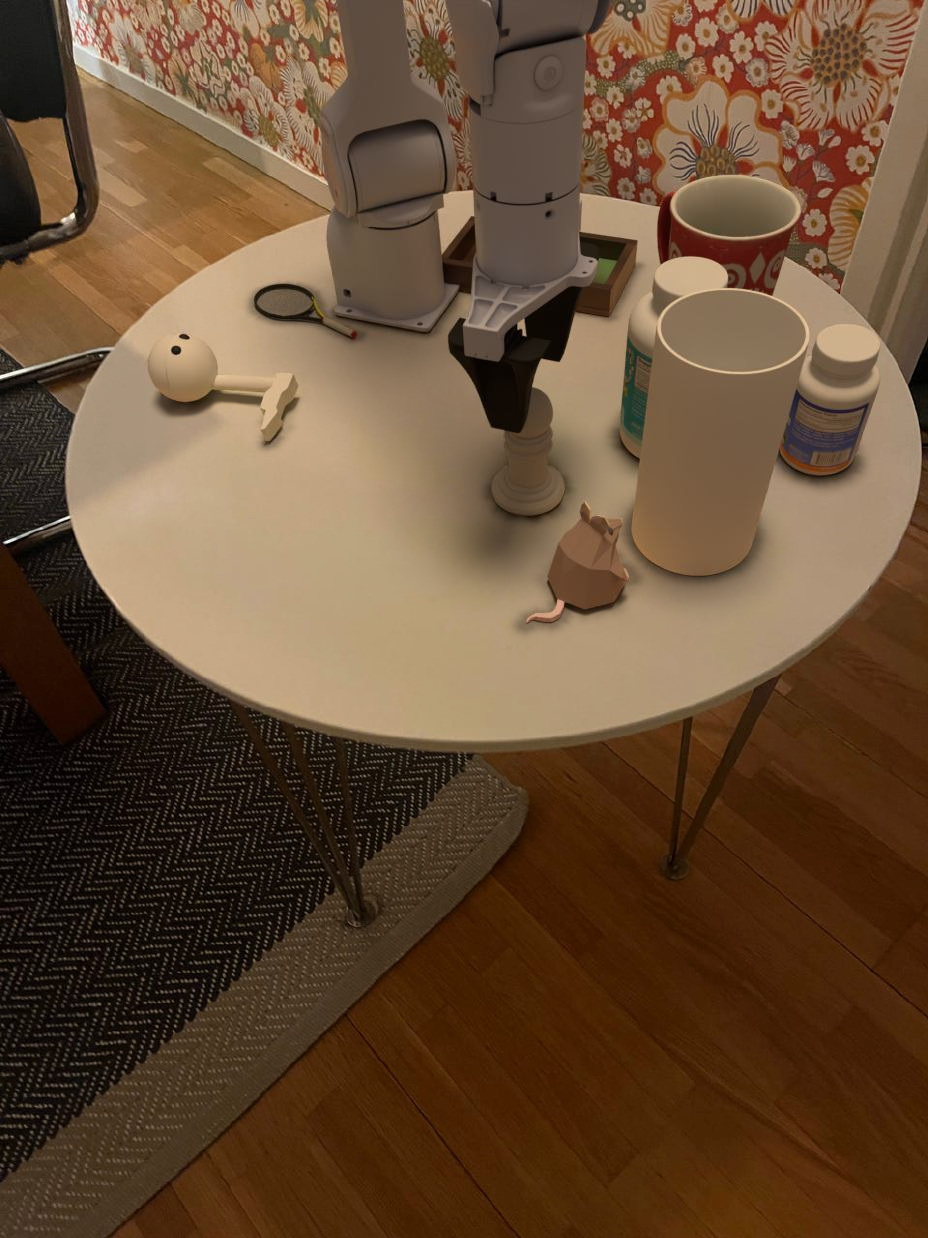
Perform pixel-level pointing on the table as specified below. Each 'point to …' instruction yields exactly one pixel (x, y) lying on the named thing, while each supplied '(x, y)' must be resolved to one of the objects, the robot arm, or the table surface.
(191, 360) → the figurine
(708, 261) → the pill bottle
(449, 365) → the table surface
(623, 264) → the tray
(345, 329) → the tennis racket
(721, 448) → the cup
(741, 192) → the mug
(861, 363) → the pill bottle
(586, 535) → the mouse figurine
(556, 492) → the chess piece
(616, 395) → the table surface
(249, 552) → the table surface
